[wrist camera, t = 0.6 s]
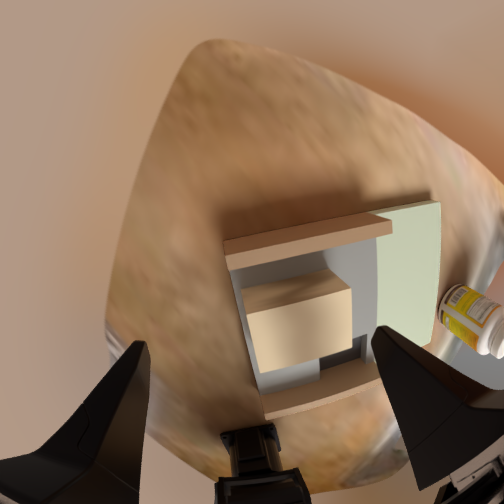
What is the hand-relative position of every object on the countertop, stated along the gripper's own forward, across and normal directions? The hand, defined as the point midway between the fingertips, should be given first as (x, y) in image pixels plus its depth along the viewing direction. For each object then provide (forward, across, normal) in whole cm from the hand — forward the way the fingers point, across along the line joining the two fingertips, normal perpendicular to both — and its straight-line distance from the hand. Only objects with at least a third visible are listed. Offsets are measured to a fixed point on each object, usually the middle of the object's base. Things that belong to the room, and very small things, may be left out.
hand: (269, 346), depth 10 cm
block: (+10, -4, +6) cm, 12 cm away
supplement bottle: (+10, -26, +9) cm, 29 cm away
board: (+11, -10, +7) cm, 17 cm away
